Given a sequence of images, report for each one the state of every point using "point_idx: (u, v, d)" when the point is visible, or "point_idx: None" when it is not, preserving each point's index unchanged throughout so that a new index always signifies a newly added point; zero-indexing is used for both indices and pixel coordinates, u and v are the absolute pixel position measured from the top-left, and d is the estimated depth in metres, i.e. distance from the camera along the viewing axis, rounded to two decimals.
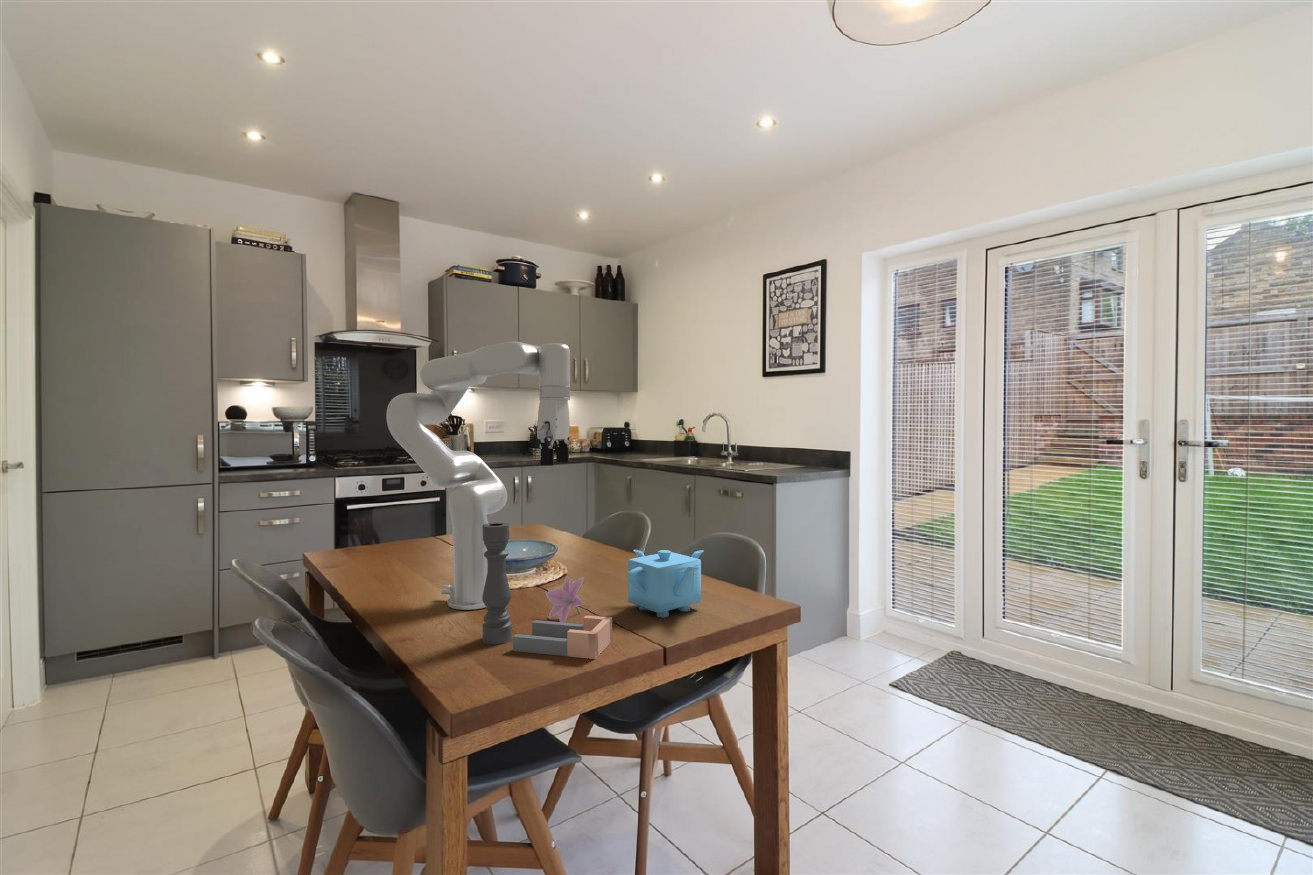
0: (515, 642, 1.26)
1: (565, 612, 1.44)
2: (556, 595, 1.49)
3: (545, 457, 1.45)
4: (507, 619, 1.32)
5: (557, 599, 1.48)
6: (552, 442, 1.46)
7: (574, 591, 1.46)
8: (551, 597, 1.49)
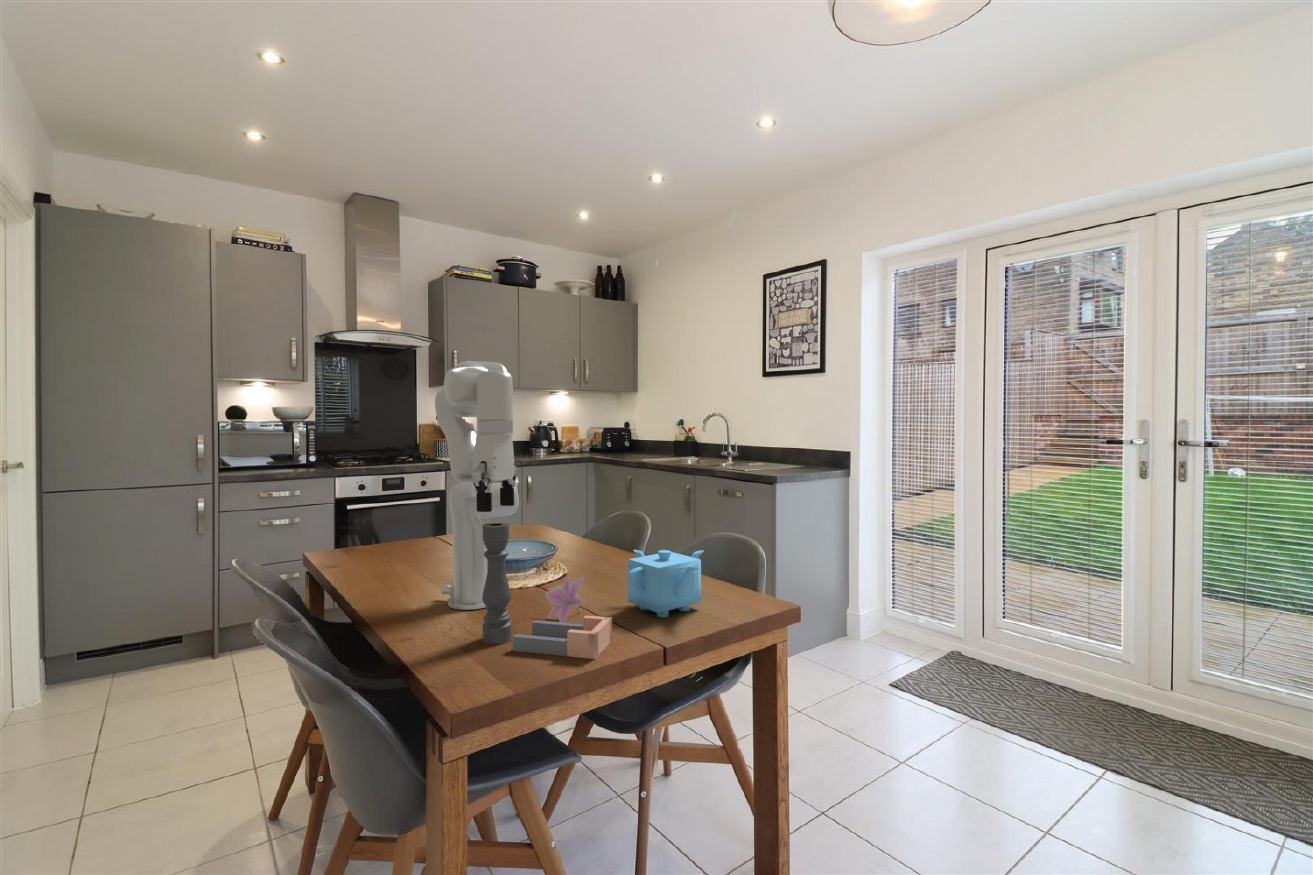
0: (515, 642, 1.26)
1: (565, 613, 1.43)
2: (556, 595, 1.49)
3: (481, 502, 1.26)
4: (507, 619, 1.32)
5: (557, 599, 1.48)
6: (490, 485, 1.26)
7: (573, 591, 1.46)
8: (551, 597, 1.49)
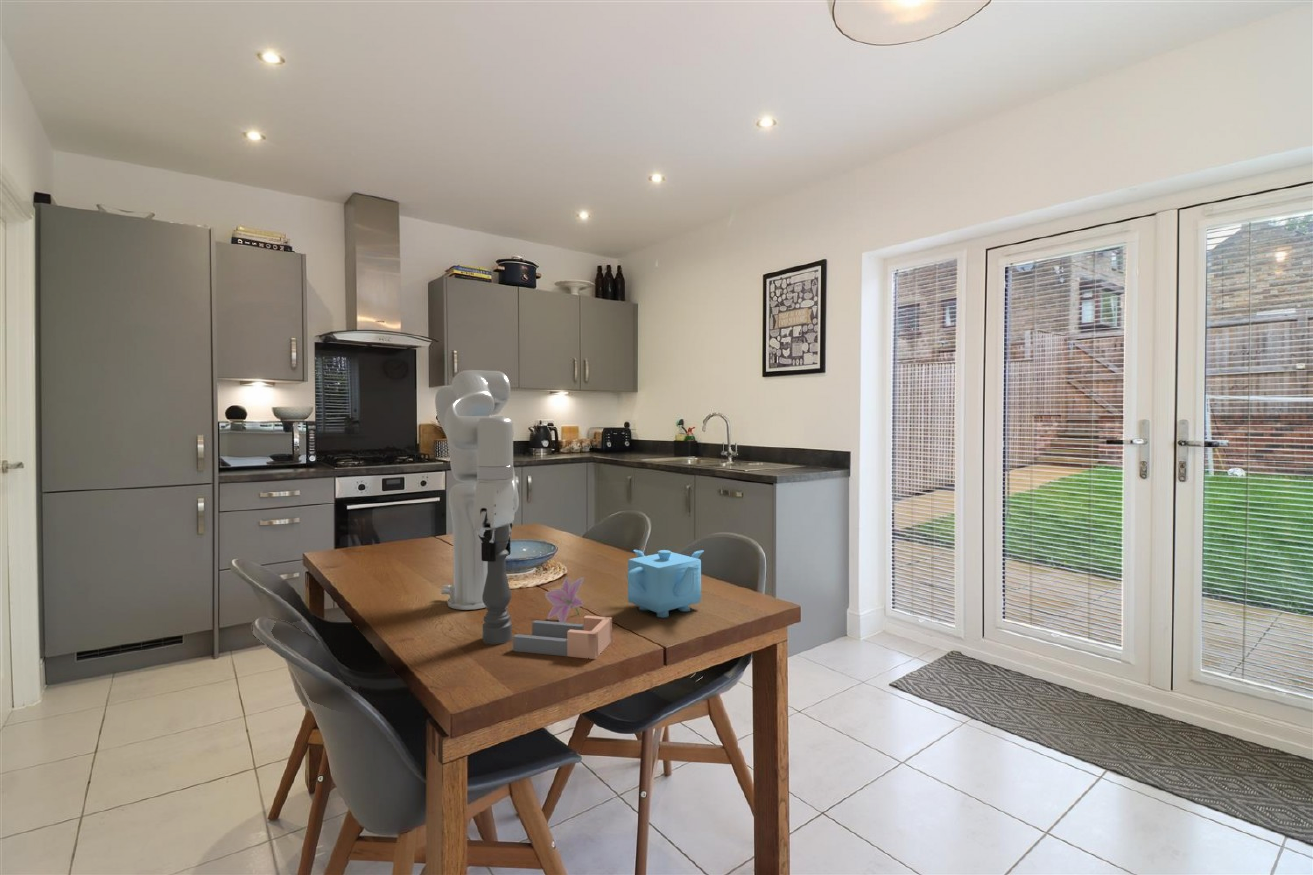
0: (515, 642, 1.26)
1: (565, 613, 1.43)
2: (555, 596, 1.48)
3: (486, 552, 1.28)
4: (507, 619, 1.32)
5: (557, 600, 1.48)
6: (493, 534, 1.28)
7: (573, 591, 1.46)
8: (550, 597, 1.49)
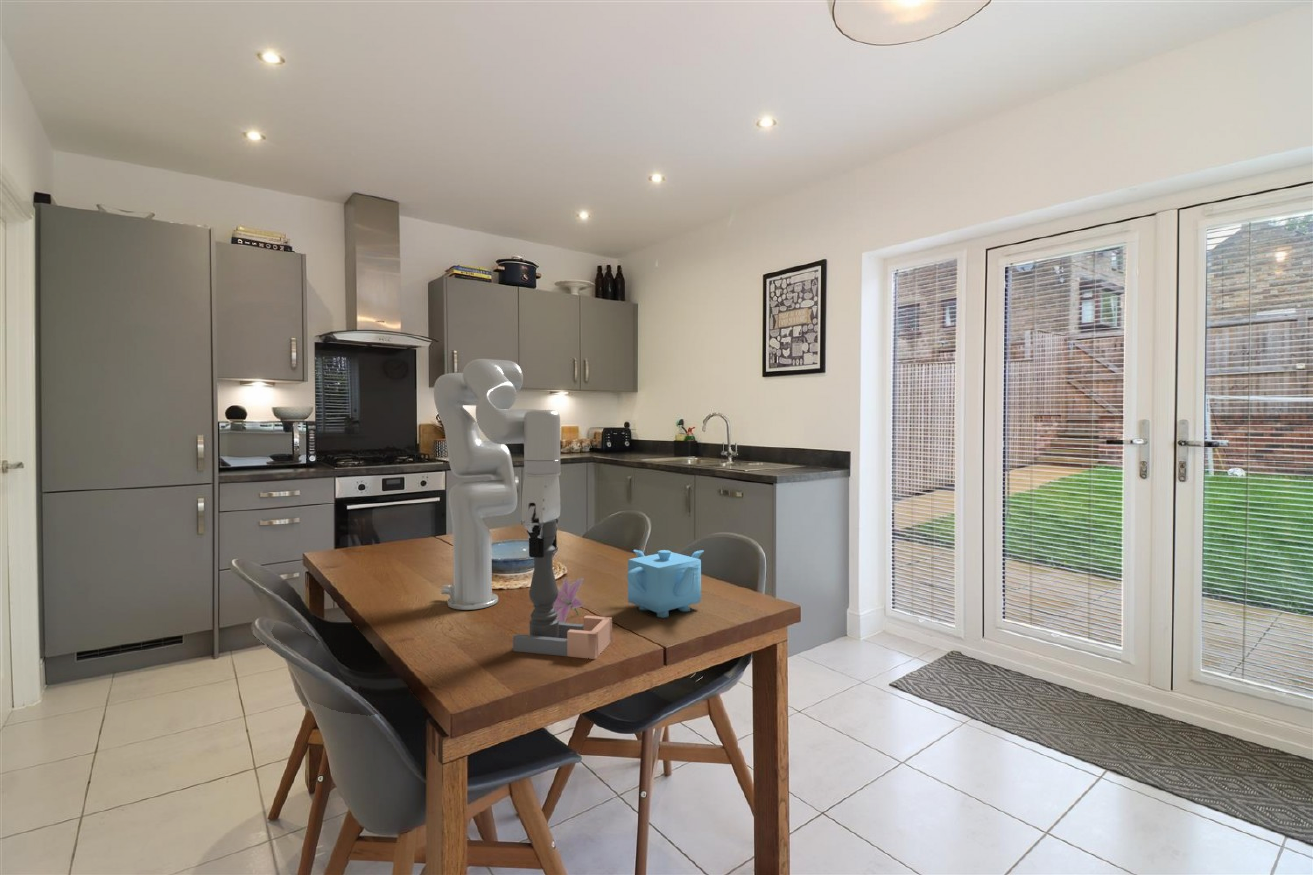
0: (515, 642, 1.26)
1: (564, 614, 1.43)
2: None
3: (534, 548, 1.26)
4: (555, 616, 1.29)
5: (556, 600, 1.47)
6: (541, 530, 1.26)
7: (573, 592, 1.46)
8: None
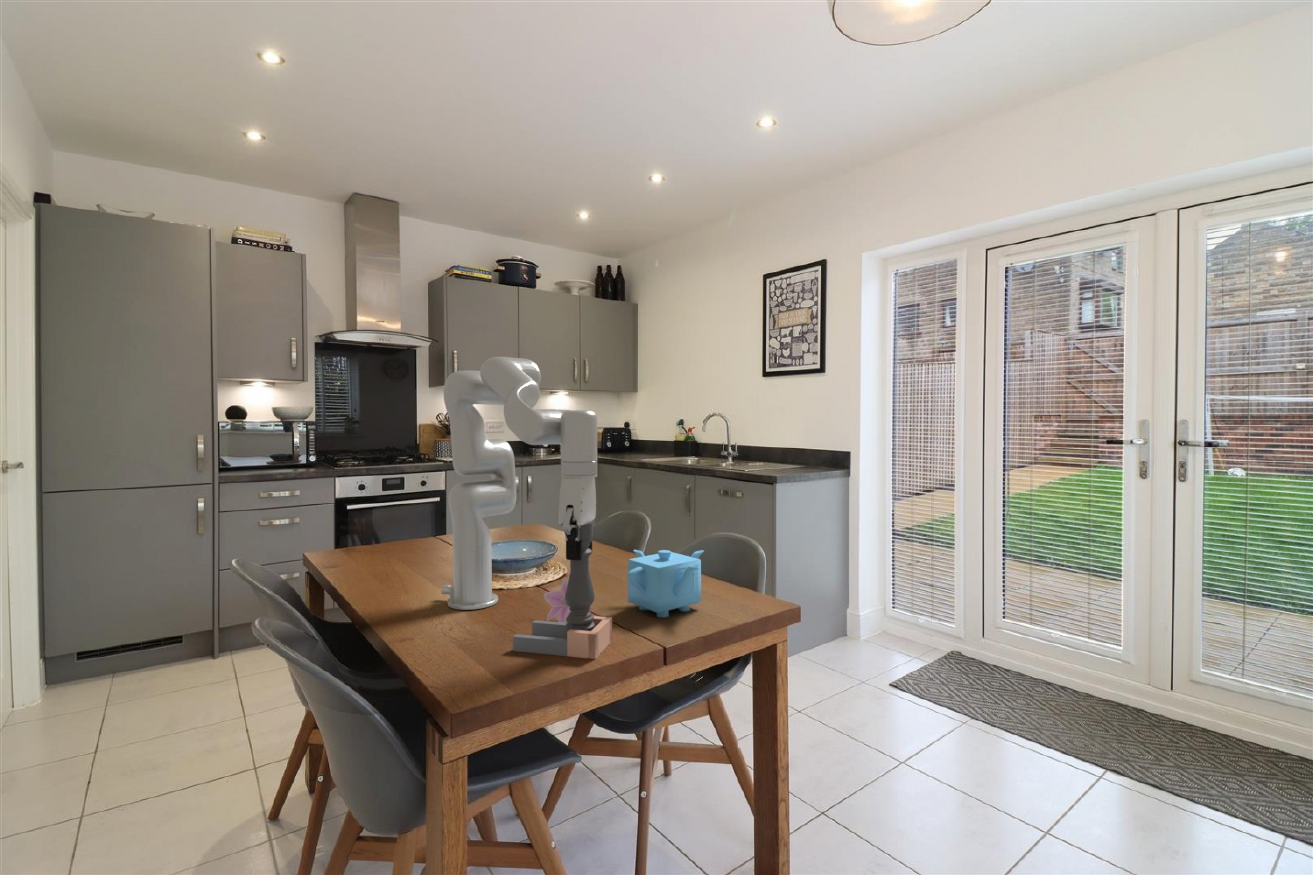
0: (515, 642, 1.26)
1: (564, 614, 1.42)
2: (554, 597, 1.47)
3: (571, 551, 1.24)
4: (591, 620, 1.27)
5: (556, 601, 1.47)
6: (579, 532, 1.24)
7: None
8: (549, 599, 1.48)
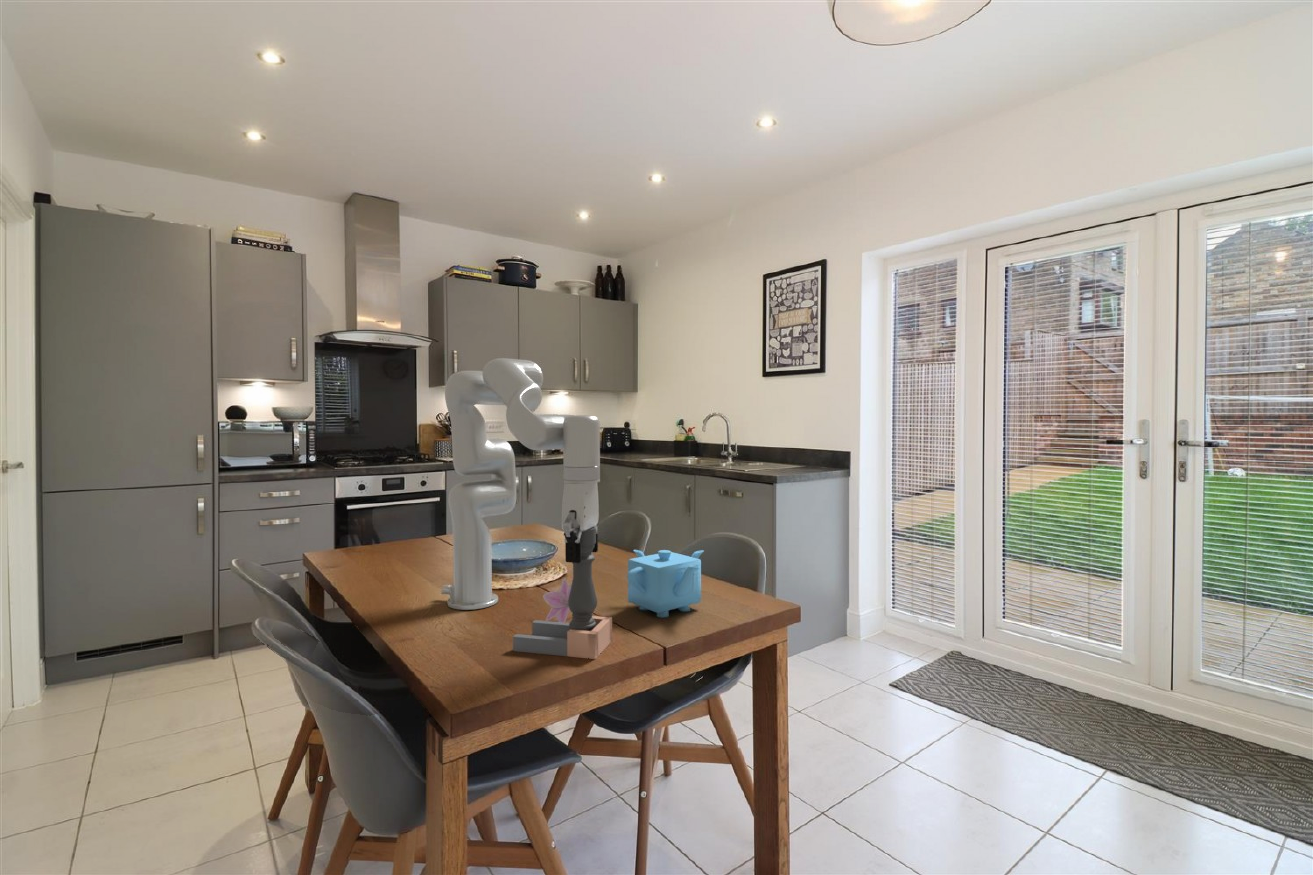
0: (515, 642, 1.26)
1: (564, 615, 1.42)
2: (553, 597, 1.47)
3: (571, 553, 1.22)
4: (594, 626, 1.27)
5: (555, 601, 1.46)
6: (579, 535, 1.22)
7: None
8: (548, 599, 1.47)
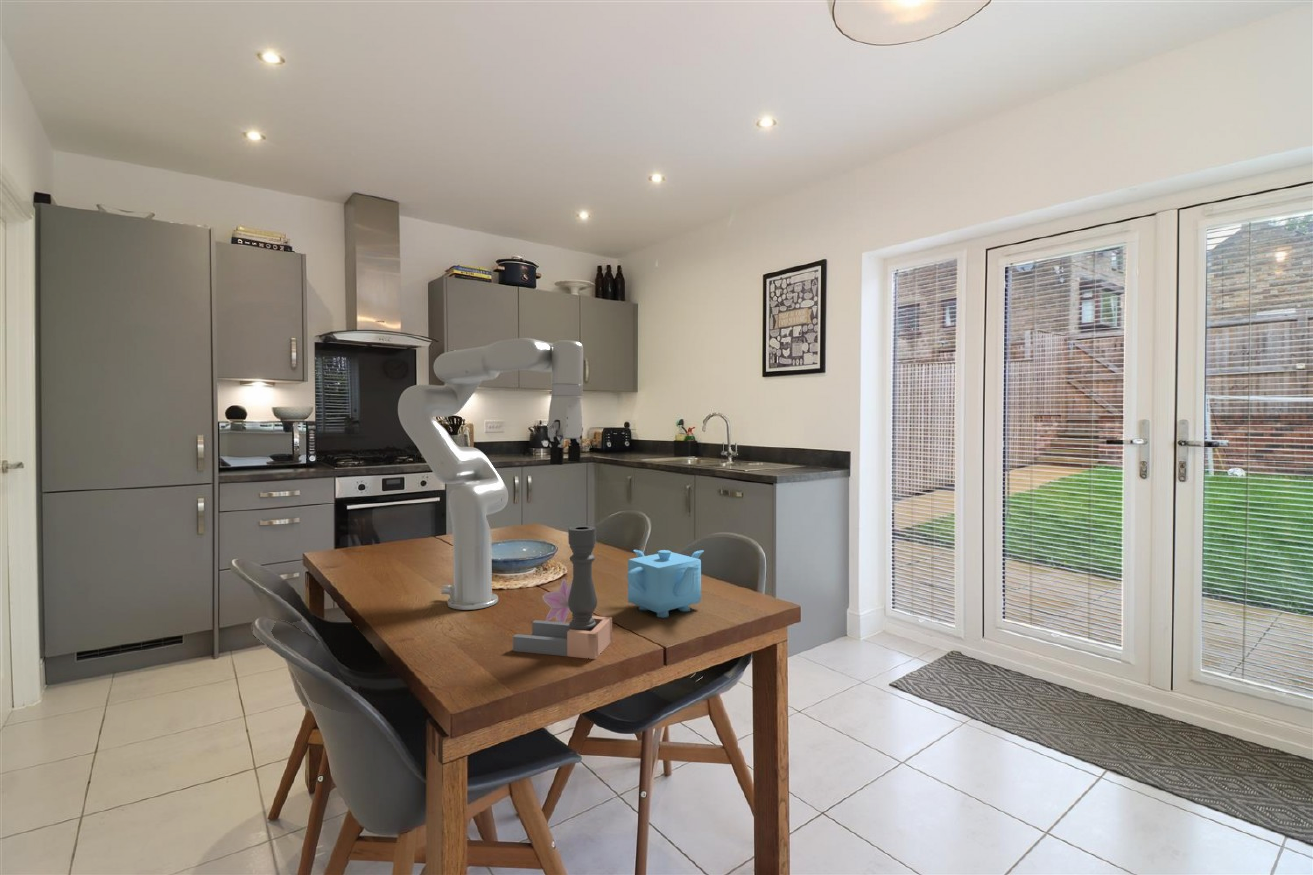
0: (515, 642, 1.26)
1: (564, 615, 1.41)
2: (553, 598, 1.47)
3: (554, 456, 1.43)
4: (594, 626, 1.27)
5: (555, 602, 1.46)
6: (562, 441, 1.44)
7: None
8: (548, 600, 1.47)
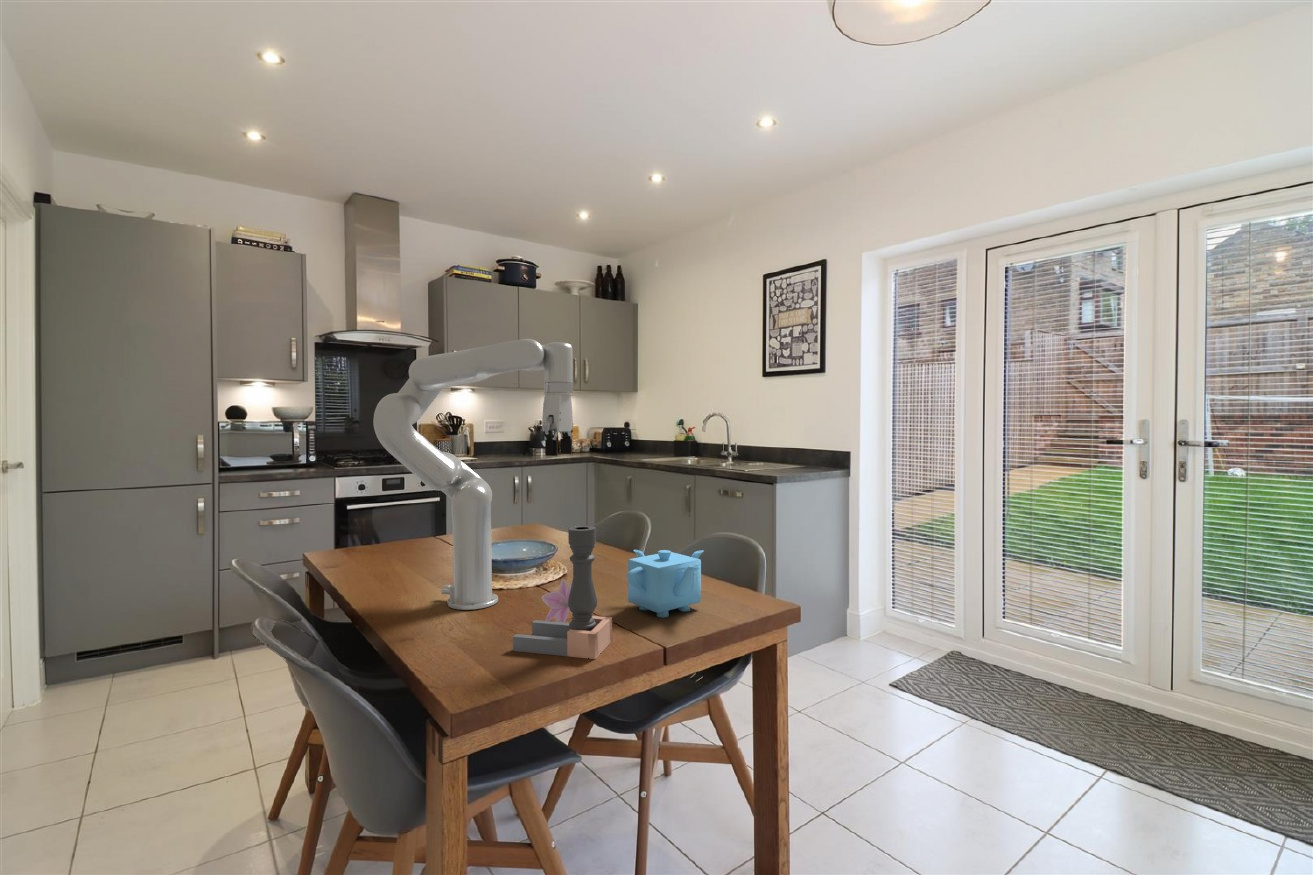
0: (515, 642, 1.26)
1: (564, 616, 1.41)
2: (552, 598, 1.46)
3: (549, 448, 1.57)
4: (594, 626, 1.27)
5: (554, 602, 1.46)
6: (556, 434, 1.57)
7: None
8: (547, 600, 1.46)
